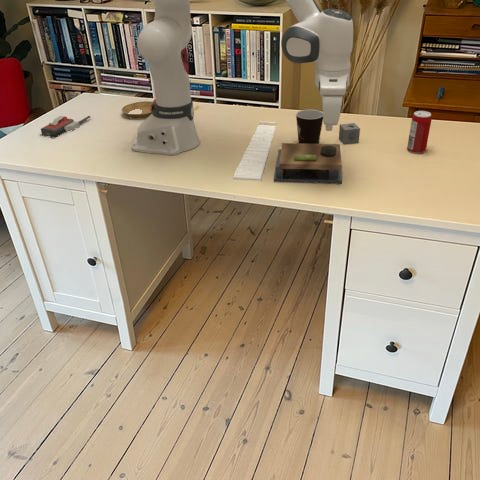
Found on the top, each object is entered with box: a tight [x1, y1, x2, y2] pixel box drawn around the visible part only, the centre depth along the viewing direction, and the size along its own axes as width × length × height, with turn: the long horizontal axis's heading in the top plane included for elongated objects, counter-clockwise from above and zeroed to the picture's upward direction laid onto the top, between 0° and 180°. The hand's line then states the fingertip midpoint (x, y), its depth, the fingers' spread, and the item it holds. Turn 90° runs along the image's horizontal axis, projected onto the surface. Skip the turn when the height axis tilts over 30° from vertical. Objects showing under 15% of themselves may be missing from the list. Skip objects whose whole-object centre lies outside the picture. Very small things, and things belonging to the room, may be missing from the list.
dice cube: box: [338, 122, 361, 146], centre depth 159 cm, size 5×5×5 cm
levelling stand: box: [273, 148, 343, 185], centre depth 143 cm, size 19×15×4 cm
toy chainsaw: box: [40, 115, 91, 138], centre depth 179 cm, size 9×4×20 cm
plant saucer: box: [121, 101, 153, 119], centre depth 189 cm, size 15×15×3 cm
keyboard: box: [232, 121, 278, 181], centre depth 159 cm, size 45×8×2 cm, turn 170°
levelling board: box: [279, 142, 343, 170], centre depth 141 cm, size 17×14×3 cm
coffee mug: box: [295, 109, 324, 144], centre depth 158 cm, size 12×9×10 cm
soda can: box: [406, 110, 433, 155], centre depth 149 cm, size 6×6×12 cm
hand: (328, 128), depth 136 cm, fingers closed
